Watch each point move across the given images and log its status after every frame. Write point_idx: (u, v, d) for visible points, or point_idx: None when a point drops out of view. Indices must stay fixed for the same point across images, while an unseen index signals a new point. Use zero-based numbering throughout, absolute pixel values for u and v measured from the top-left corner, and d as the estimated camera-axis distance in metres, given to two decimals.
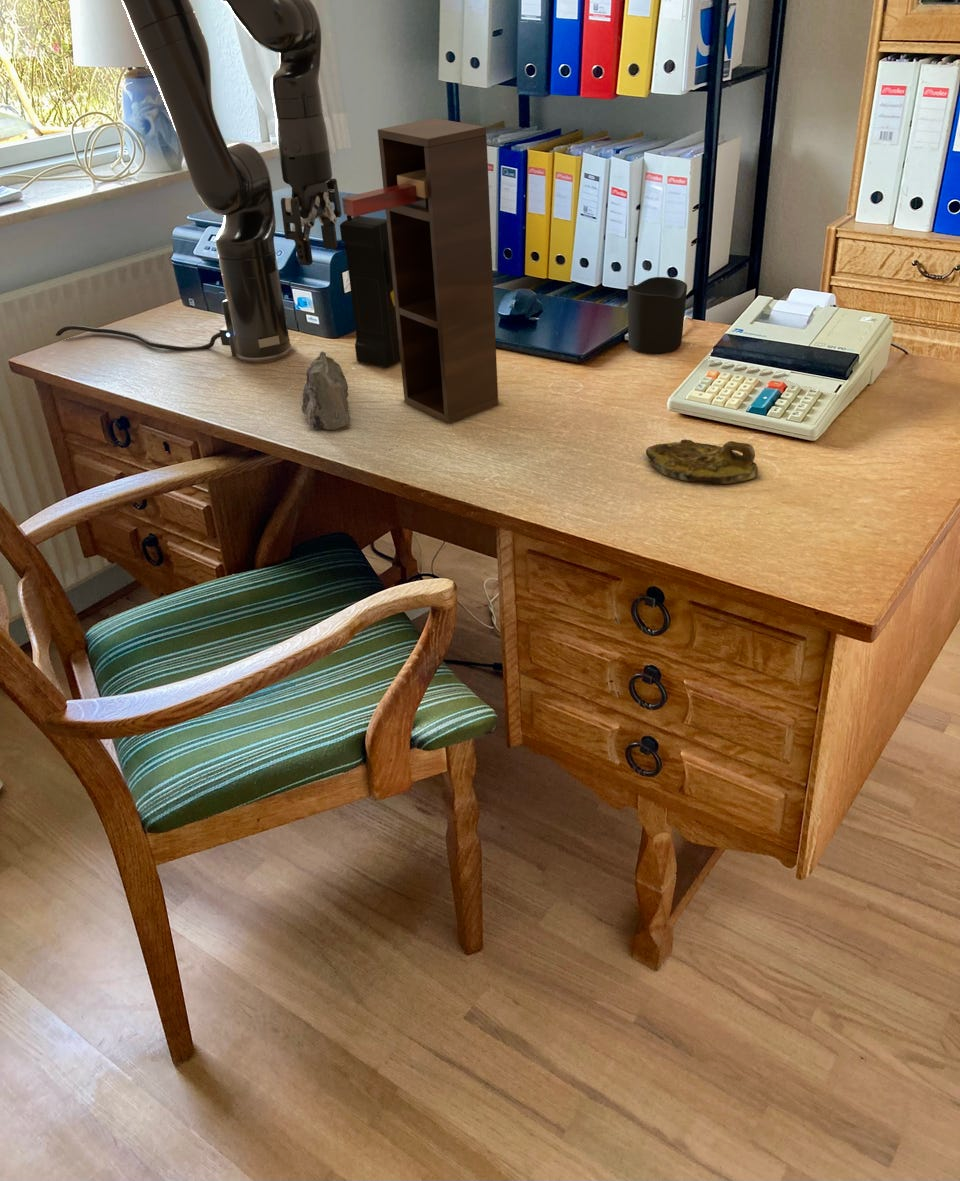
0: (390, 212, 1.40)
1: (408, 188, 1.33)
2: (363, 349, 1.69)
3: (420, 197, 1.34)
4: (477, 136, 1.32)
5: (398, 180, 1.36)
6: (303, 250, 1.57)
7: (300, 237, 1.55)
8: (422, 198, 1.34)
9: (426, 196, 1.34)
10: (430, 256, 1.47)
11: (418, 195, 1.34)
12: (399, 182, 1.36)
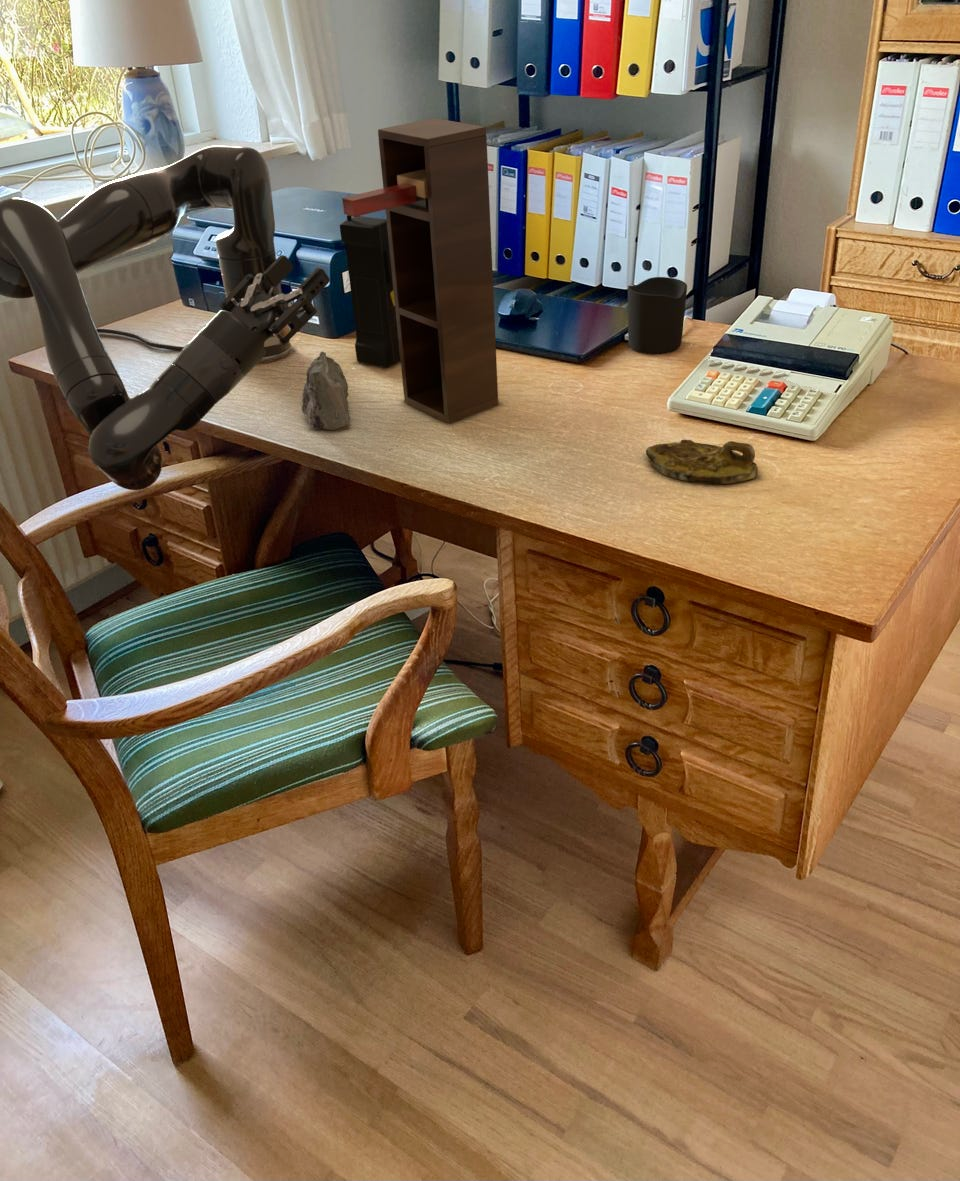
0: (390, 212, 1.40)
1: (408, 188, 1.33)
2: (363, 349, 1.69)
3: (420, 197, 1.34)
4: (477, 136, 1.32)
5: (398, 180, 1.36)
6: (313, 285, 1.25)
7: (303, 297, 1.24)
8: (422, 198, 1.34)
9: (426, 196, 1.34)
10: (430, 256, 1.47)
11: (418, 195, 1.34)
12: (399, 182, 1.36)
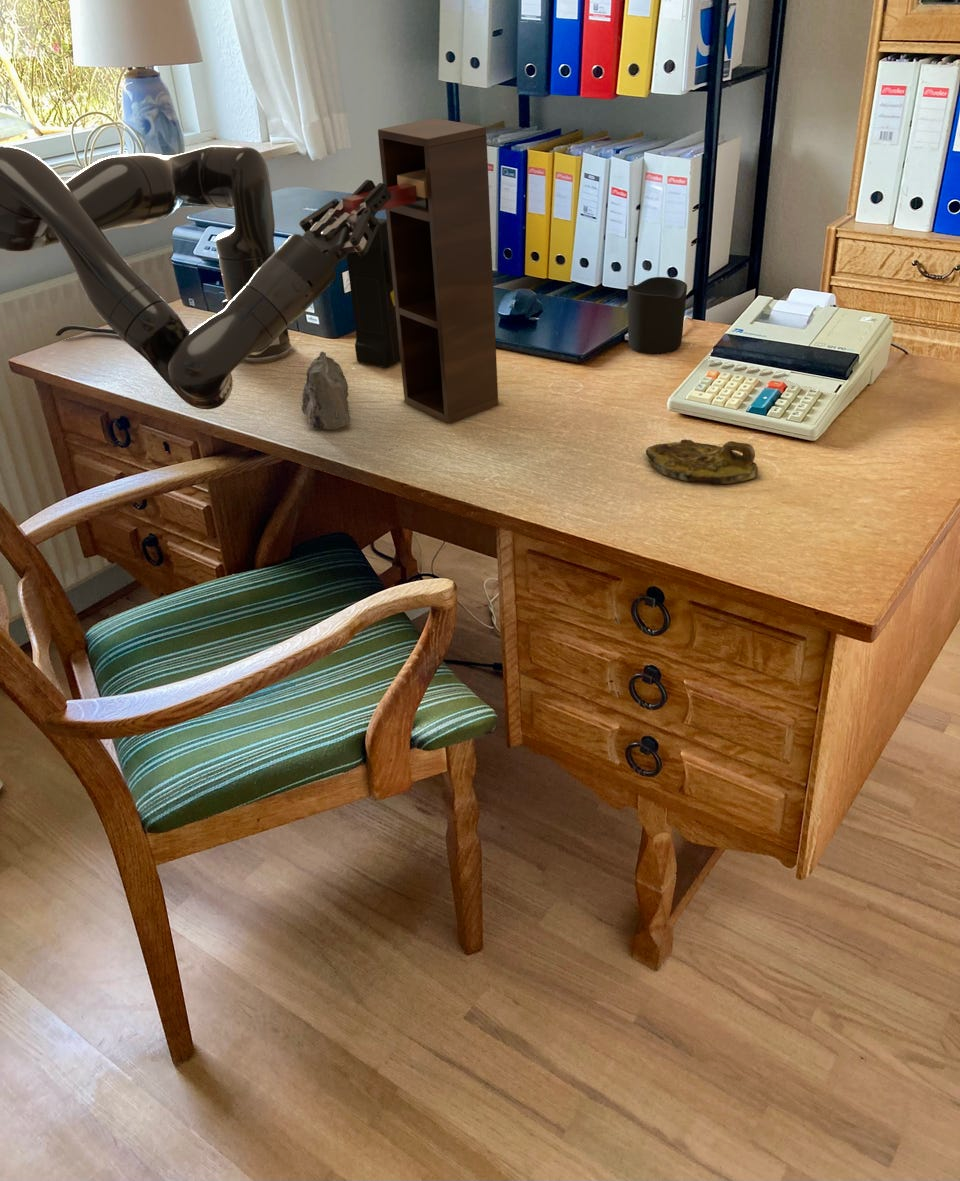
0: (390, 212, 1.40)
1: (408, 188, 1.33)
2: (363, 349, 1.69)
3: (420, 197, 1.34)
4: (477, 136, 1.32)
5: (398, 180, 1.36)
6: (376, 199, 1.30)
7: (367, 209, 1.28)
8: (422, 198, 1.34)
9: (426, 196, 1.34)
10: (430, 256, 1.47)
11: (418, 195, 1.34)
12: (399, 182, 1.36)
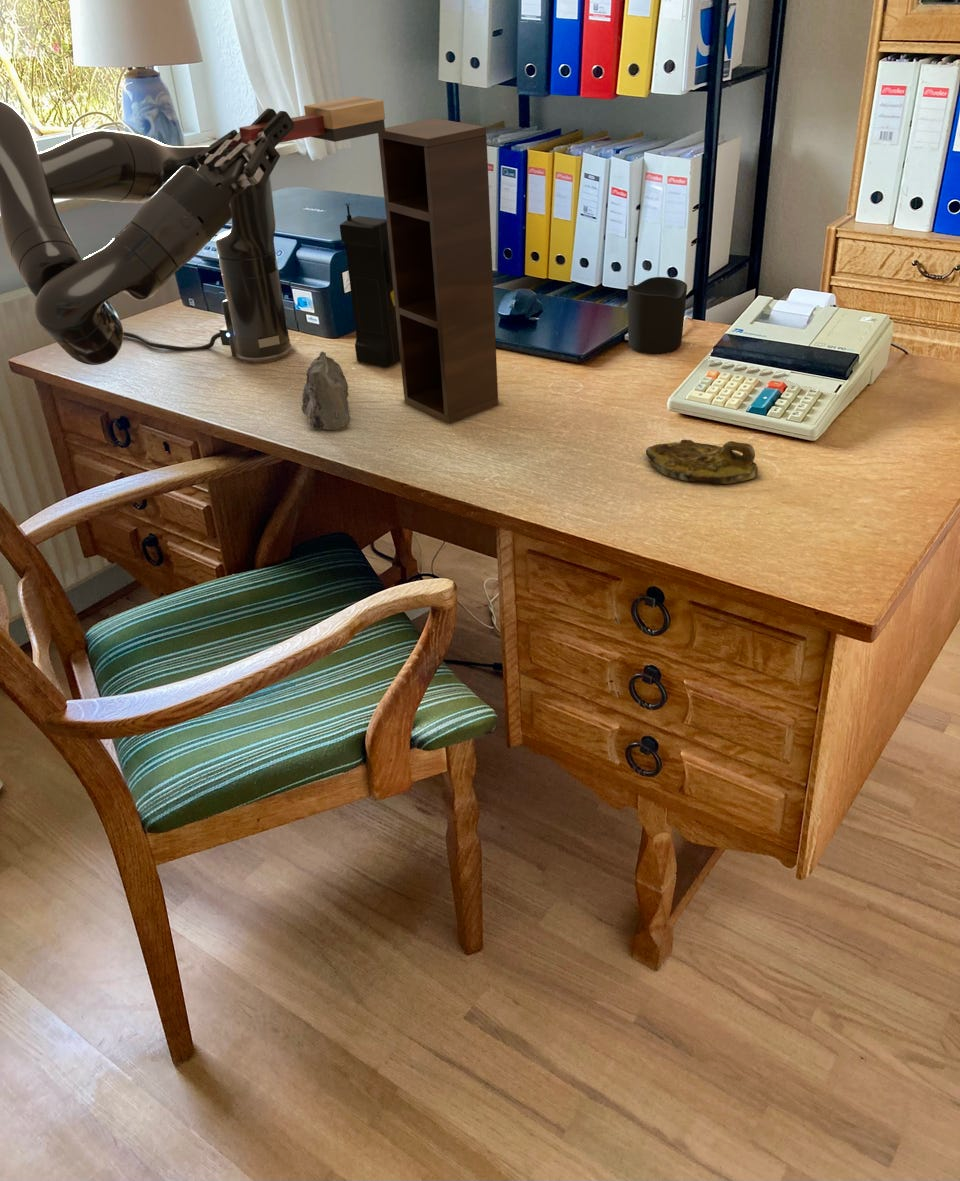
0: (390, 212, 1.40)
1: (314, 118, 1.21)
2: (363, 349, 1.69)
3: (328, 129, 1.22)
4: (477, 136, 1.32)
5: (305, 111, 1.24)
6: (276, 128, 1.18)
7: (265, 138, 1.16)
8: (330, 129, 1.22)
9: (334, 127, 1.21)
10: (430, 256, 1.47)
11: (326, 126, 1.22)
12: (307, 113, 1.24)
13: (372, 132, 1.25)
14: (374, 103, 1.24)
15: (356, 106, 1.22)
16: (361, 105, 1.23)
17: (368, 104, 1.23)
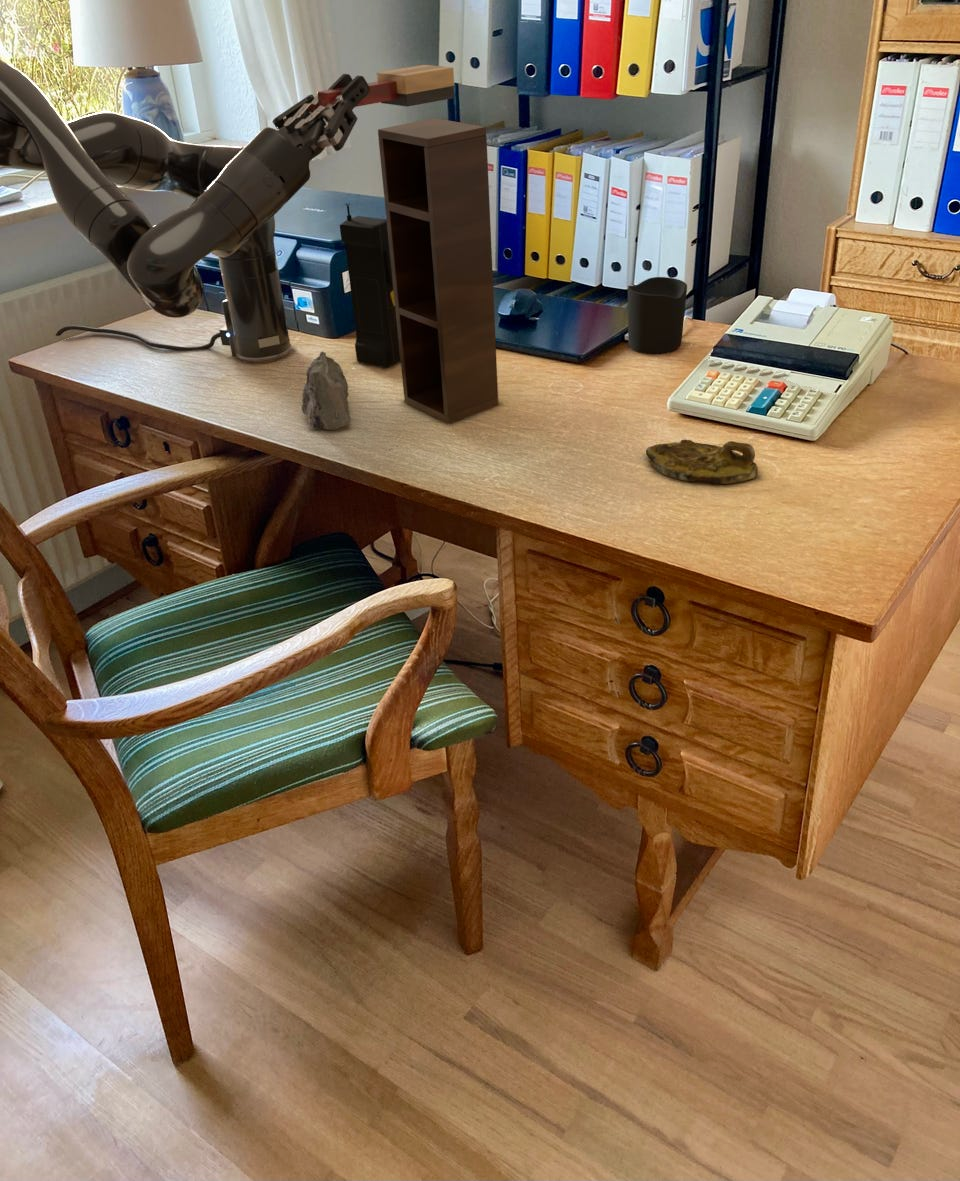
0: (390, 212, 1.40)
1: (388, 83, 1.26)
2: (363, 349, 1.69)
3: (401, 94, 1.27)
4: (477, 136, 1.32)
5: (378, 78, 1.29)
6: (353, 92, 1.22)
7: (344, 101, 1.20)
8: (403, 94, 1.26)
9: (407, 92, 1.26)
10: (430, 256, 1.47)
11: (399, 92, 1.27)
12: (379, 80, 1.29)
13: (442, 98, 1.29)
14: (445, 70, 1.28)
15: (428, 72, 1.26)
16: (432, 71, 1.27)
17: (439, 70, 1.27)
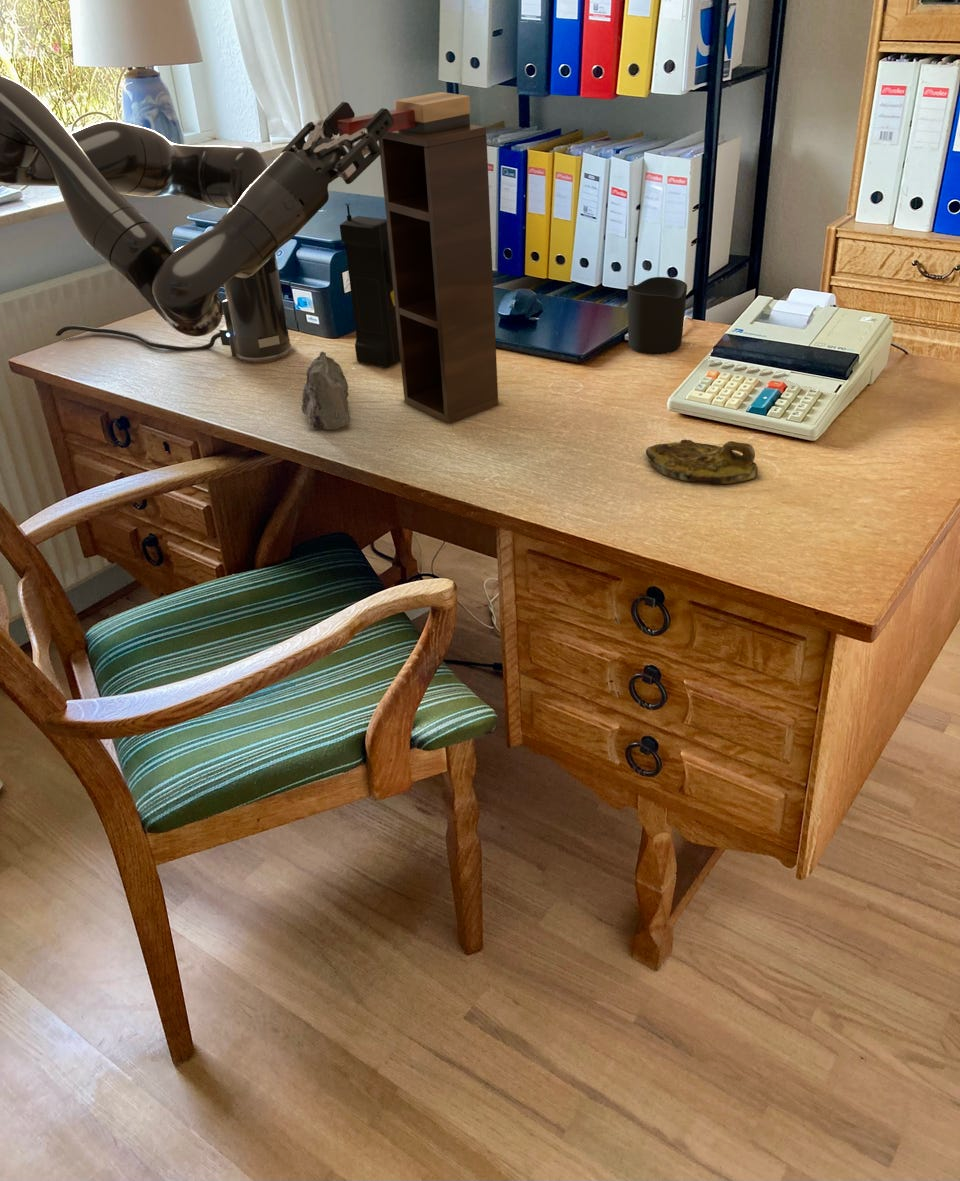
0: (390, 212, 1.40)
1: (406, 112, 1.29)
2: (363, 349, 1.69)
3: (419, 122, 1.30)
4: (477, 136, 1.32)
5: (396, 105, 1.32)
6: (378, 125, 1.22)
7: (369, 135, 1.21)
8: (421, 123, 1.29)
9: (425, 120, 1.29)
10: (430, 256, 1.47)
11: (416, 120, 1.30)
12: (397, 107, 1.32)
13: (459, 126, 1.33)
14: (461, 98, 1.31)
15: (445, 101, 1.30)
16: (450, 100, 1.30)
17: (456, 99, 1.31)
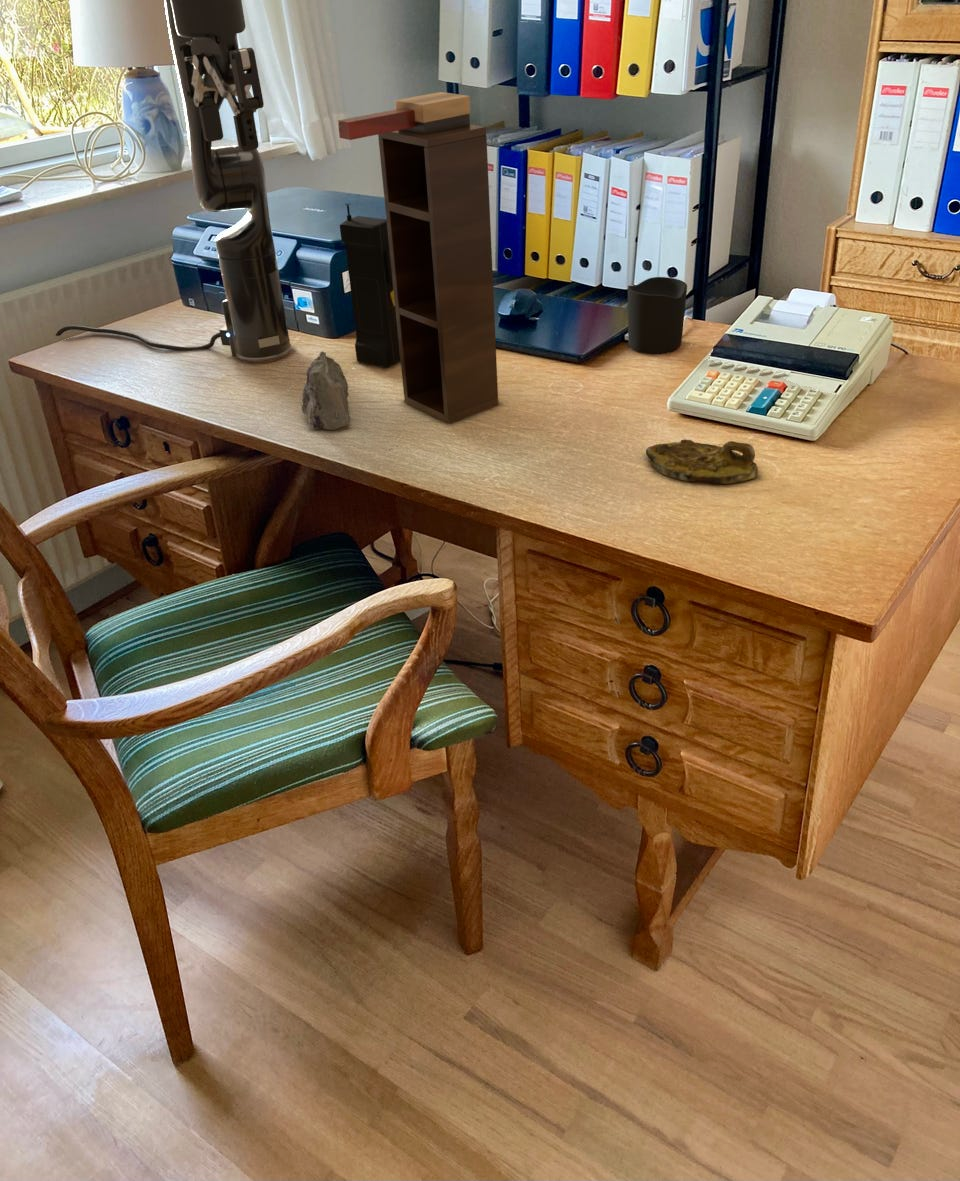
0: (390, 212, 1.40)
1: (406, 112, 1.29)
2: (363, 349, 1.69)
3: (419, 122, 1.30)
4: (477, 136, 1.32)
5: (396, 105, 1.32)
6: (254, 126, 1.15)
7: None
8: (421, 123, 1.29)
9: (425, 120, 1.29)
10: (430, 256, 1.47)
11: (416, 120, 1.30)
12: (397, 107, 1.32)
13: (459, 126, 1.33)
14: (461, 98, 1.31)
15: (445, 101, 1.30)
16: (450, 100, 1.30)
17: (456, 99, 1.31)
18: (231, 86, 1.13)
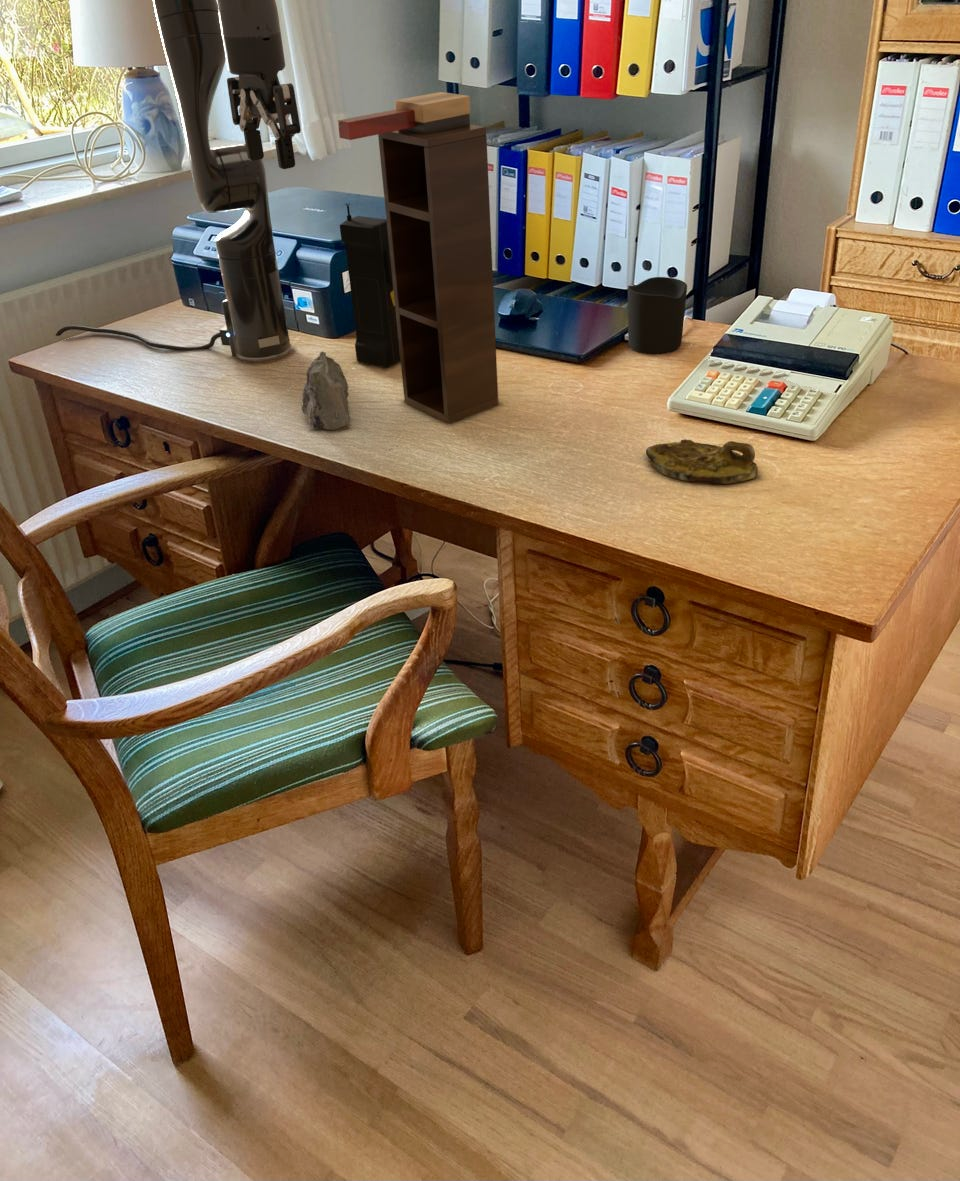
0: (390, 212, 1.40)
1: (406, 112, 1.29)
2: (363, 349, 1.69)
3: (419, 122, 1.30)
4: (477, 136, 1.32)
5: (396, 105, 1.32)
6: (292, 148, 1.37)
7: None
8: (421, 123, 1.29)
9: (425, 120, 1.29)
10: (430, 256, 1.47)
11: (416, 120, 1.30)
12: (397, 107, 1.32)
13: (459, 126, 1.33)
14: (461, 98, 1.31)
15: (445, 101, 1.30)
16: (450, 100, 1.30)
17: (456, 99, 1.31)
18: (273, 115, 1.35)
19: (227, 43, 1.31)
